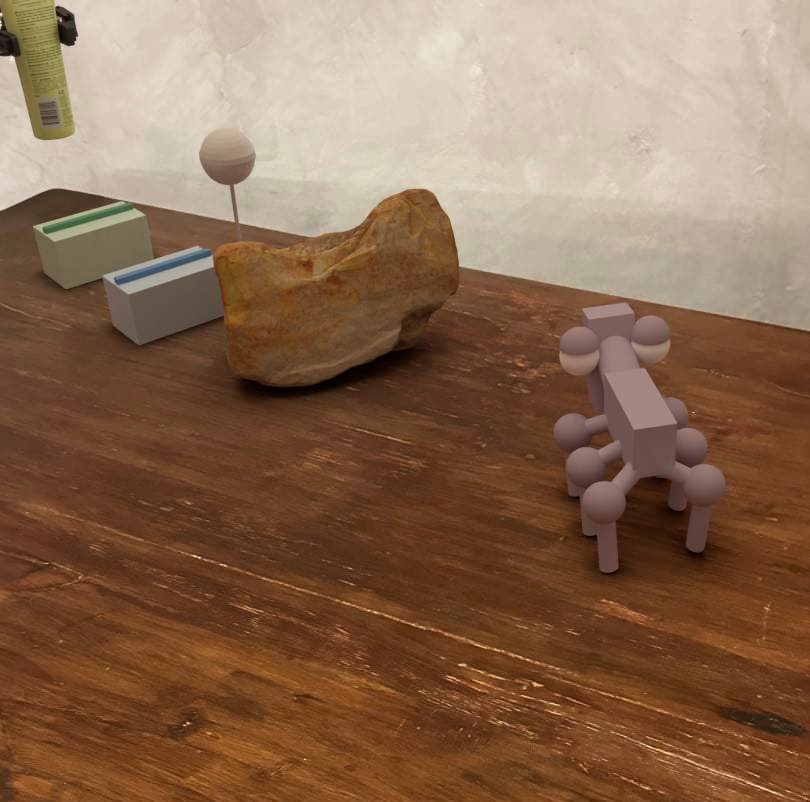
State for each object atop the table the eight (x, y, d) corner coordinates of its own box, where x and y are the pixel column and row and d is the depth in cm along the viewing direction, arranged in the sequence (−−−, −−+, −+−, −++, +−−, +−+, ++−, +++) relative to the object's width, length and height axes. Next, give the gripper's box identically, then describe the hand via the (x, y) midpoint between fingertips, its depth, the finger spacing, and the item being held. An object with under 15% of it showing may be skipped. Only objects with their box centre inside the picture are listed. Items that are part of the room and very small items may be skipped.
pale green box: (65, 289, 124) (52, 236, 121) (44, 273, 128) (31, 220, 125) (155, 261, 130) (145, 209, 126) (131, 246, 133) (121, 195, 130)
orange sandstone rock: (414, 297, 121) (399, 155, 112) (479, 350, 107) (467, 194, 99) (204, 350, 115) (171, 204, 107) (245, 413, 101) (212, 253, 93)
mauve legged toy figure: (526, 434, 96) (530, 286, 88) (648, 422, 97) (663, 274, 89) (581, 580, 80) (592, 416, 72) (726, 565, 81) (753, 400, 73)
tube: (44, 127, 138) (4, -50, 127) (84, 127, 138) (48, -51, 126) (27, 142, 134) (-15, -40, 122) (68, 142, 133) (30, -41, 122)
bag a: (139, 346, 113) (126, 288, 109) (112, 325, 117) (100, 269, 113) (233, 312, 118) (225, 256, 114) (205, 294, 122) (196, 239, 118)
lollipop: (279, 257, 129) (263, 124, 120) (248, 276, 125) (229, 140, 116) (236, 248, 132) (217, 117, 123) (205, 267, 128) (183, 133, 119)
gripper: (-78, -7, 133) (-27, 16, 122) (37, -25, 139) (96, -5, 129) (-60, 60, 137) (-9, 88, 126) (51, 39, 144) (108, 64, 133)
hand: (43, 41), depth 128 cm, fingers closed on tube, 6 cm apart
